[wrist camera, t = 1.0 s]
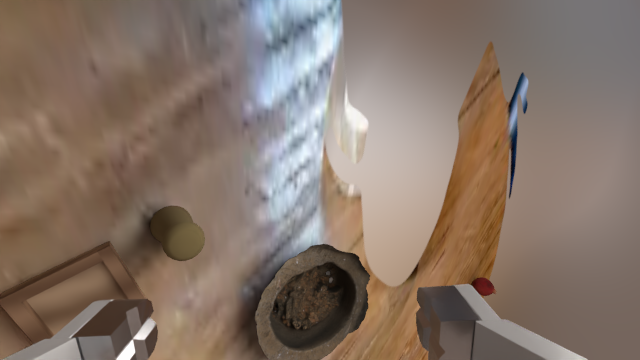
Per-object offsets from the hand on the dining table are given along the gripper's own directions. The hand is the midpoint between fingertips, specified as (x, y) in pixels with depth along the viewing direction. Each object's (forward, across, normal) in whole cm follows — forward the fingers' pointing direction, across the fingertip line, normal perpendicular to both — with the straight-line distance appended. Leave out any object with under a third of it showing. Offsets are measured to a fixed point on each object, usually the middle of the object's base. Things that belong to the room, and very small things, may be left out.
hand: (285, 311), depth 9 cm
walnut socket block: (+29, +33, +19) cm, 48 cm away
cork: (+37, +23, +11) cm, 45 cm away
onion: (+87, -53, +57) cm, 117 cm away
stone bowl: (+48, +5, +32) cm, 58 cm away
